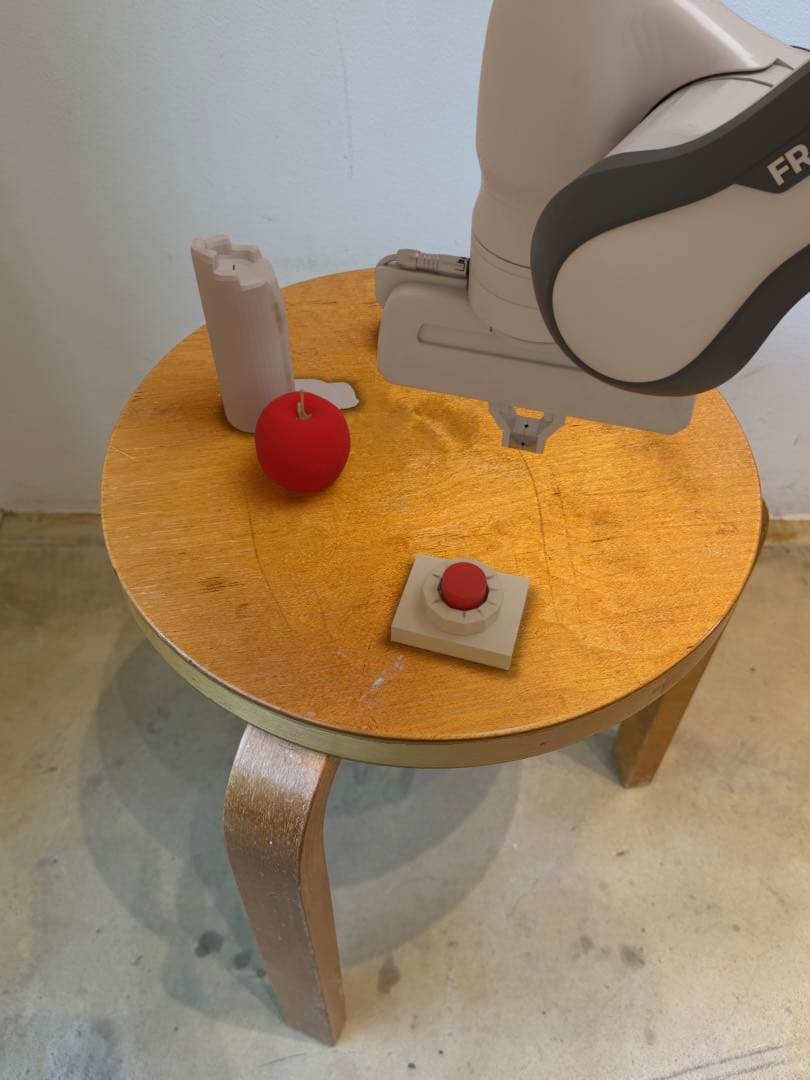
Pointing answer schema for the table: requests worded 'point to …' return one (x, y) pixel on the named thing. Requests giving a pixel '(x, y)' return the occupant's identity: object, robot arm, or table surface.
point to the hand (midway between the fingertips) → (524, 444)
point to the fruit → (302, 442)
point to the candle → (250, 332)
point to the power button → (463, 585)
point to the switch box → (460, 614)
